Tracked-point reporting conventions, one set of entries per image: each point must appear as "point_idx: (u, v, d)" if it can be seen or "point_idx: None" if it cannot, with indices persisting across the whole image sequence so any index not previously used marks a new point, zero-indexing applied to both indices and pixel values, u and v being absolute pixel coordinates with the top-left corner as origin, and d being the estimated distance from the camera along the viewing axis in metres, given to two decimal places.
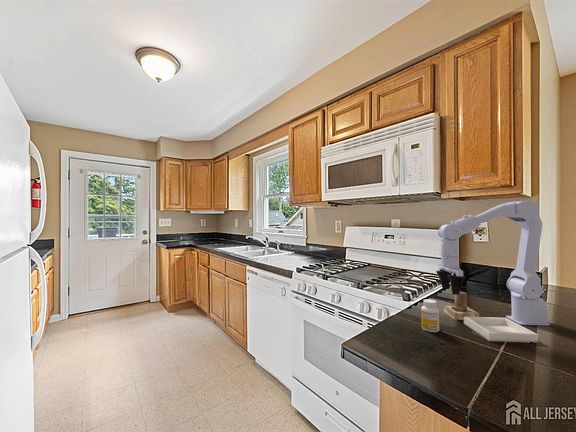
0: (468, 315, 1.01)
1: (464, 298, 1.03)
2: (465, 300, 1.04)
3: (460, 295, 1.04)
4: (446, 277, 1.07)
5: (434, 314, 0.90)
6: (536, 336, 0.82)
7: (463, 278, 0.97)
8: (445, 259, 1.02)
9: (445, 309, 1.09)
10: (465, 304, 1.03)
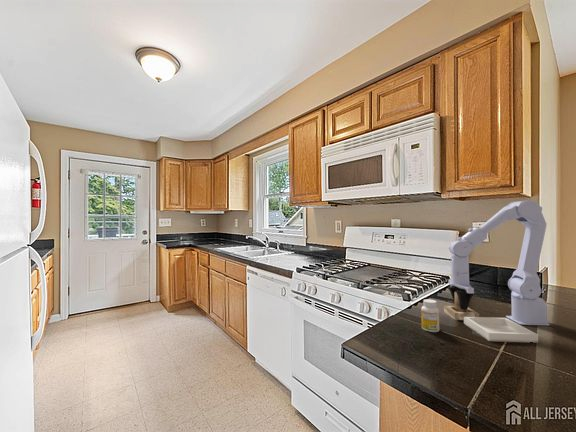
0: (468, 315, 1.01)
1: None
2: None
3: None
4: None
5: (434, 314, 0.90)
6: (536, 336, 0.82)
7: (471, 294, 1.01)
8: (456, 275, 1.04)
9: (445, 309, 1.09)
10: None
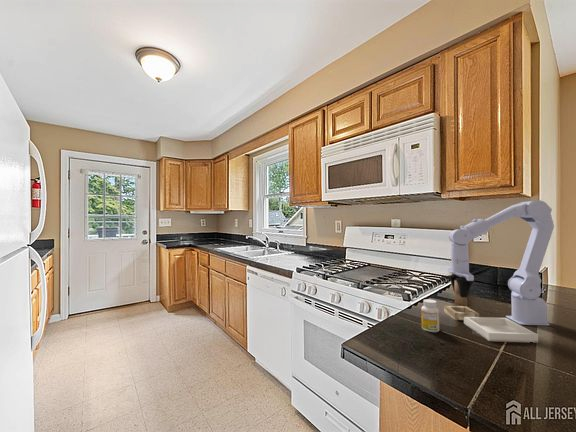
0: (468, 315, 1.01)
1: None
2: None
3: None
4: None
5: (434, 314, 0.90)
6: (536, 336, 0.82)
7: (471, 281, 1.01)
8: (455, 263, 1.04)
9: (445, 309, 1.09)
10: None
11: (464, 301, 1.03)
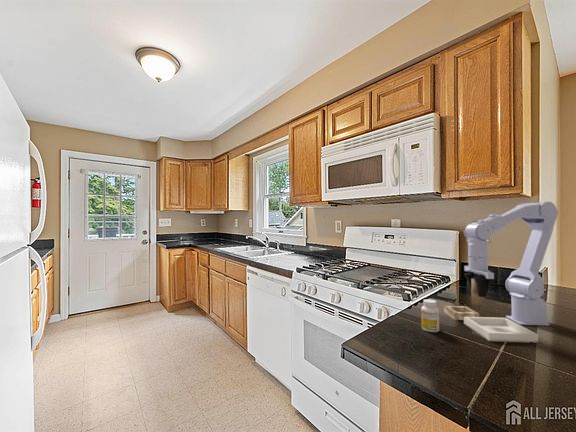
0: (468, 315, 1.01)
1: None
2: None
3: None
4: None
5: (434, 314, 0.90)
6: (536, 336, 0.82)
7: (491, 280, 0.93)
8: (473, 260, 0.96)
9: (445, 309, 1.09)
10: None
11: (482, 301, 0.95)
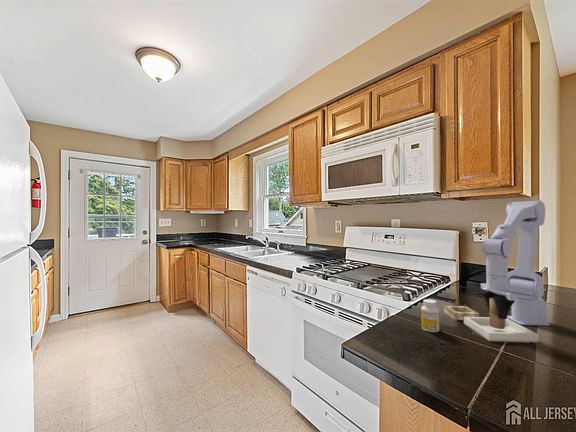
0: (468, 315, 1.01)
1: None
2: None
3: None
4: None
5: (434, 314, 0.90)
6: (536, 336, 0.82)
7: (512, 301, 0.86)
8: (492, 279, 0.89)
9: (445, 309, 1.09)
10: None
11: (502, 324, 0.88)
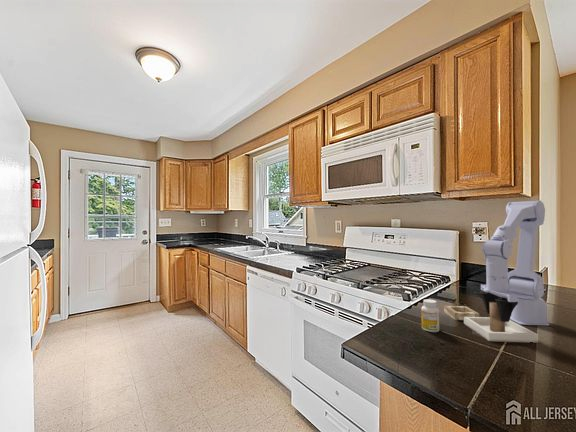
0: (468, 315, 1.01)
1: None
2: None
3: (497, 306, 0.89)
4: (492, 300, 0.93)
5: (434, 314, 0.90)
6: (536, 336, 0.82)
7: (515, 303, 0.84)
8: (492, 280, 0.89)
9: (445, 309, 1.09)
10: None
11: (502, 328, 0.88)
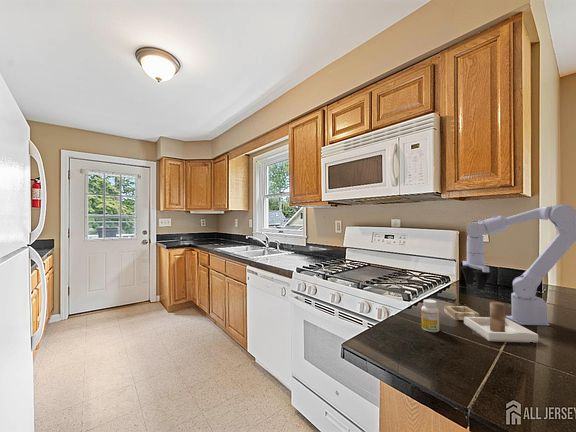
0: (468, 315, 1.01)
1: (502, 310, 0.88)
2: (503, 312, 0.88)
3: (497, 306, 0.88)
4: (470, 273, 1.12)
5: (434, 314, 0.90)
6: (536, 336, 0.82)
7: (489, 274, 1.03)
8: (471, 256, 1.07)
9: (445, 309, 1.09)
10: (503, 318, 0.88)
11: (502, 328, 0.88)
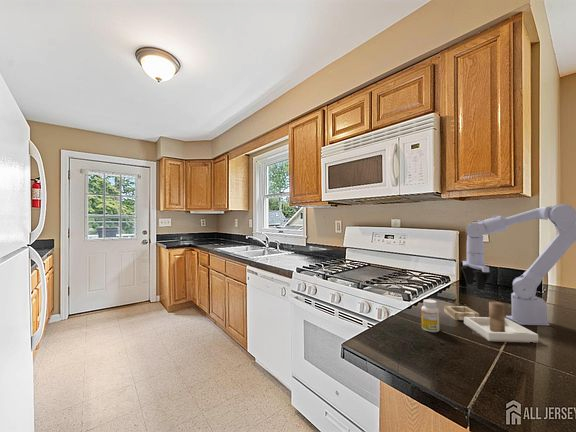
0: (468, 315, 1.01)
1: (501, 310, 0.88)
2: (503, 312, 0.88)
3: (496, 306, 0.88)
4: (470, 273, 1.13)
5: (434, 314, 0.90)
6: (536, 336, 0.82)
7: (488, 274, 1.03)
8: (471, 256, 1.08)
9: (445, 309, 1.09)
10: (502, 317, 0.88)
11: (502, 328, 0.88)
